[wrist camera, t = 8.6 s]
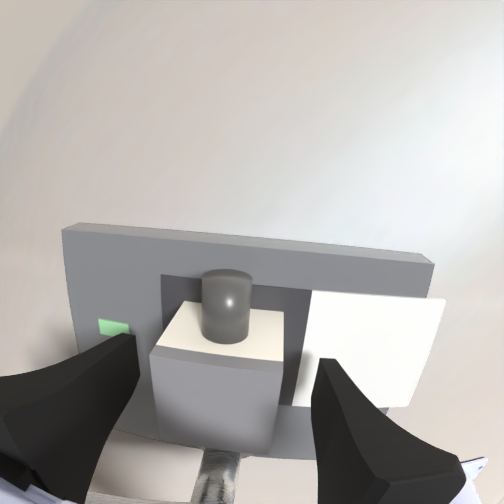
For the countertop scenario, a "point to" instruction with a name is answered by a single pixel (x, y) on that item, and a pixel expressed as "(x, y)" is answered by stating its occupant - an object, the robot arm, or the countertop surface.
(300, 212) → the countertop surface
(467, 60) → the countertop surface
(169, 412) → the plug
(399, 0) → the countertop surface
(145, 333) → the grey flat board
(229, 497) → the orange-tipped grey rod
